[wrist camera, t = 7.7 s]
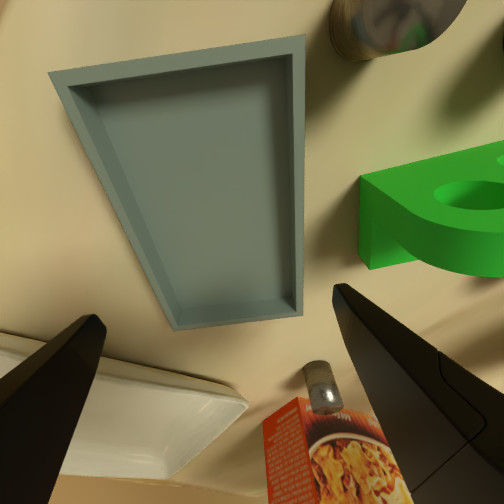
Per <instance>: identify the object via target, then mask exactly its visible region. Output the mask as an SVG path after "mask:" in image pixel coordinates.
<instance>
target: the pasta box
mask: <svg viewBox="0 0 504 504" xmlns="http://www.w3.org/2000/svg"><path fill="white" fill-rule="evenodd" d="M262 422H263V435H264V449H265V462H266V475H267V488H268V500H269V501H268V502H269V504H414V503H413V500H412V498H411V496H410V494H411V493H409V491H408V488H407V486H406V484H405V482H404V479H403V477H402V475H401V472H400V470H399V468H398V466H397V463H396V461H395V459H394V456H393V454H392V452H391V449H390V447H389V445H388V443H387V440H386V438H385V436H384V433H383V431H382V429H381V426H380V424H379V422H378V420H377V417H374V416H370V415H366V414H363V413H359V412H355V411H351V410H347V409H344V408H343V409H342V410H341V411H339V412H337V413H335V414H331V415H317V414H314V413H313V411H312V407H311V403H310V400H309V399H305V398H302V397H296V398H295V399H293V400H292V401H291V402H289V403H288V404H286V405H285V406H283V407H282V408H281V409H279V410H278V411H276V412H275V413H274V414H272V415H271V416H269V417H268V418H266V419H265V420H264V421H262Z"/></svg>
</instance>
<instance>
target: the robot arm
mask: <svg viewBox="0 0 504 504" xmlns="http://www.w3.org/2000/svg"><path fill="white" fill-rule="evenodd" d="M332 304H333V308H334V311H335V314H336V317H337V321H338V324H339V327H340V331H341V334H342V337H343V340H344V343H345V346H346V348H347V351H348V353H349V355H350V358H351V360H352V362H353V364H354V367H355V369H356V371H357V374H358V376H359V378H360V381H361V383H362V385H363V387H364V390H365V392H366V394H367V397H368V399H369V401H370V403H371V406H372V408H373V410H374V413H375V415H376V417H377V420H378V422H379V424H380V426H381V429H382V431H383V433H384V436H385V438H386V440H387V443H388V445H389V447H390V449H391V452H392V454H393V456H394V459H395V461H396V463H397V466H398V468H399V470H400V472H401V475H402V477H403V479H404V482H405V484H406V486H407V488H408V491H409V493H411V494H410V496H411V498H412V500H413V503H414V504H504V394H503V393H501V392H499V391H498V390H496V389H495V388H493V387H492V386H490V385H489V384H487V383H486V382H484V381H482V380H481V379H479V378H478V377H476V376H475V375H473V374H472V373H470V372H469V371H467V370H466V369H465V368H463V367H462V366H460V365H459V364H457V363H456V362H455V361H453V360H452V359H450V358H449V357H448V356H446V355H445V354H443V353H442V352H441V351H438V350H437V349H436V348H435V347H434V346H432V345H431V344H429V343H428V342H427V341H425V340H424V339H423V338H421V337H420V336H418V335H417V334H416V333H414V332H413V331H411V330H410V329H409V328H407V327H406V326H405V325H403V324H402V323H400V322H399V321H398V320H396V319H395V318H393V317H392V316H391V315H389V314H388V313H387V312H385V311H384V310H382V309H381V308H380V307H378V306H377V305H375V304H374V303H373V302H371V301H370V300H369V299H367V298H366V297H364V296H363V295H362V294H360V293H359V292H357V291H356V290H355V289H353V288H352V287H351V286H349V285H348V284H346V283H341V284H335V285H334V288H333V297H332ZM106 333H107V329H106V327H105V325H104V324H103V322H102V321H101V320H100V318H99V317H98V316H97V315H96V314H89V315H83V316H82V317H80V318H79V319H78V320H76V321H75V322H74V323H72V324H71V325H70V326H68V327H67V328H66V329H65V330H63V331H62V332H61V333H59V334H58V335H57V336H55V337H54V338H53V339H51V340H50V341H49V342H47V343H46V344H45V345H44V346H42V347H41V348H40V349H38V350H37V351H36V352H34V353H33V354H32V355H30V356H29V357H28V358H27V359H25V360H24V361H23V362H21V363H20V364H19V365H17V366H16V367H15V368H13V369H12V370H11V371H10V372H8V373H7V374H6V375H4V376H3V377H2V378H0V504H48V502H49V499H50V497H51V494H52V491H53V489H54V486H55V483H56V480H57V478H58V475H59V472H60V470H61V467H62V464H63V461H64V459H65V456H66V453H67V451H68V448H69V445H70V443H71V440H72V437H73V434H74V432H75V429H76V426H77V424H78V421H79V418H80V415H81V413H82V410H83V407H84V405H85V402H86V399H87V397H88V394H89V391H90V388H91V386H92V383H93V380H94V377H95V375H96V371H97V368H98V364H99V360H100V357H101V353H102V349H103V345H104V341H105V337H106Z"/></svg>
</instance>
